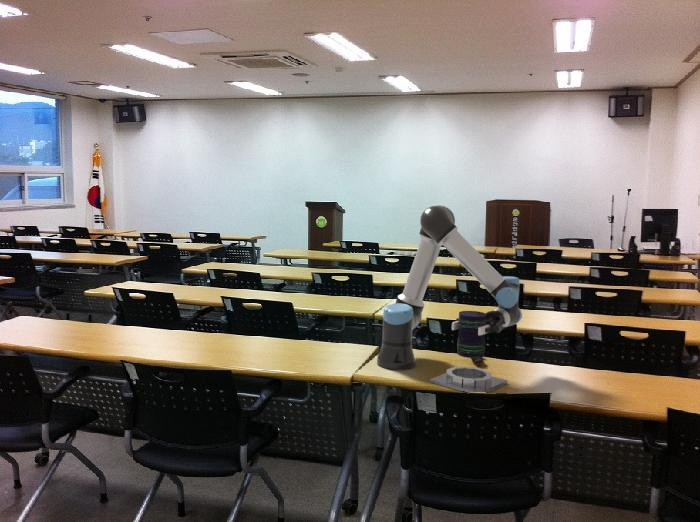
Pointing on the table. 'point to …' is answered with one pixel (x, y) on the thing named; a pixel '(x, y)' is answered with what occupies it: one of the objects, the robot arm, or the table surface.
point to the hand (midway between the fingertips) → (465, 328)
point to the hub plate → (468, 389)
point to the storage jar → (471, 334)
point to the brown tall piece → (477, 361)
